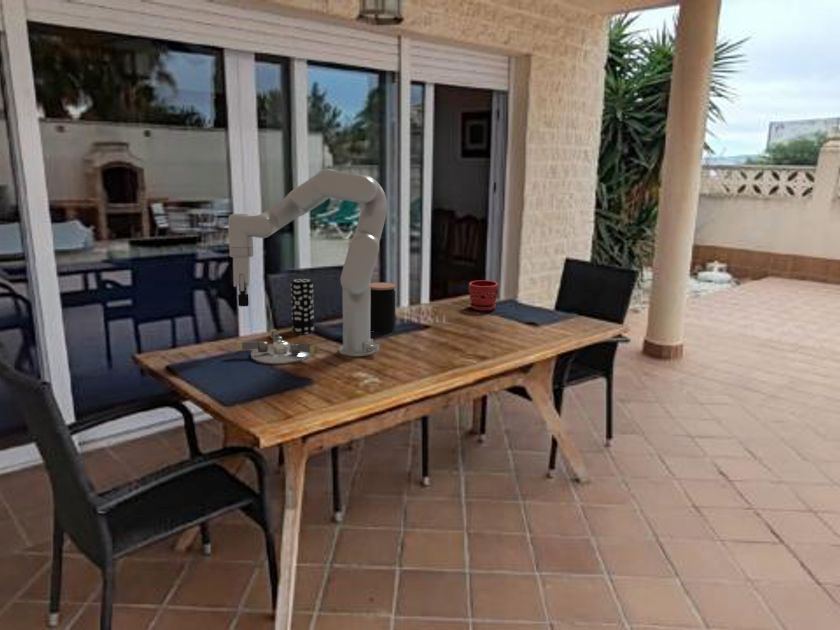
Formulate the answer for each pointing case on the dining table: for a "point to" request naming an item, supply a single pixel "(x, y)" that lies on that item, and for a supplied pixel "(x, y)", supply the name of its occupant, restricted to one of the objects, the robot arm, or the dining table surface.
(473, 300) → the plant pot
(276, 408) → the dining table surface
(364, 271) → the robot arm
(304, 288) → the spotted tube
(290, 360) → the tribrach plate
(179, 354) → the dining table surface
